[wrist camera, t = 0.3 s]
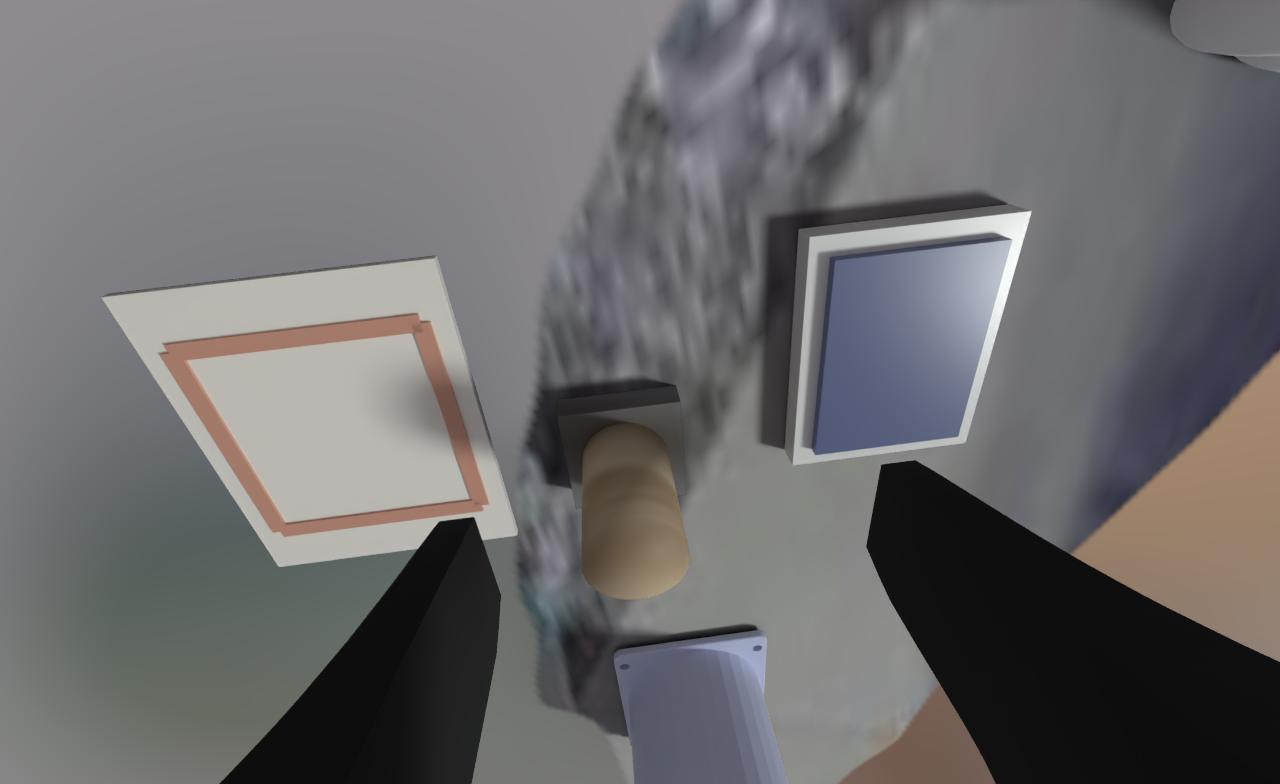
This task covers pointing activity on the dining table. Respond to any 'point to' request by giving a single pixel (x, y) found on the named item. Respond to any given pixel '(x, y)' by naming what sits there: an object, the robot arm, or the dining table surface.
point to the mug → (1231, 29)
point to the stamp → (628, 488)
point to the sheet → (327, 403)
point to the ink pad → (896, 329)
